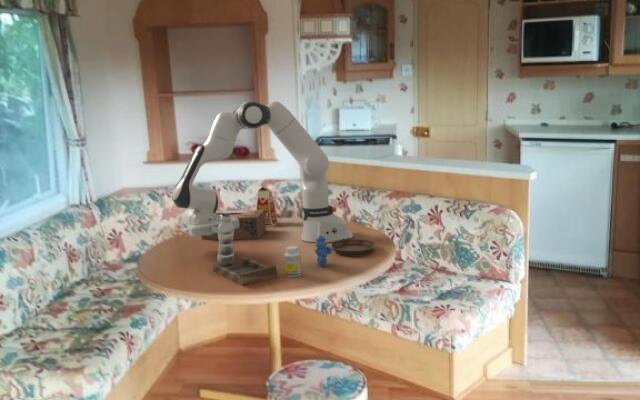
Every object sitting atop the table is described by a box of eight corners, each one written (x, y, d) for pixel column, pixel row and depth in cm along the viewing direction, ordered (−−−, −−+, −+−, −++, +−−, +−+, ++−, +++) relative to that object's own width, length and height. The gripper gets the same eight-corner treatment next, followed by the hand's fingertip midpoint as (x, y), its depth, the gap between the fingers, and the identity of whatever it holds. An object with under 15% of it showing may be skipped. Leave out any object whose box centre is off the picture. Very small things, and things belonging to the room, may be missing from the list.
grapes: (336, 270, 227) (334, 238, 224) (317, 271, 226) (315, 239, 223) (331, 260, 238) (329, 230, 235) (313, 262, 237) (312, 231, 235)
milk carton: (273, 227, 294) (270, 185, 289) (254, 227, 295) (251, 185, 291) (278, 222, 302) (275, 181, 298) (259, 222, 304) (257, 181, 300)
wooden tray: (213, 270, 232) (212, 260, 232) (245, 262, 240) (245, 252, 239) (242, 285, 214) (241, 274, 214) (276, 276, 222) (276, 266, 221)
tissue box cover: (265, 231, 288) (264, 209, 286) (258, 239, 274) (256, 217, 272) (211, 231, 292) (210, 210, 290) (201, 239, 278) (199, 217, 276)
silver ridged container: (237, 261, 241) (238, 213, 234) (229, 268, 235) (229, 220, 228) (222, 258, 243) (222, 210, 236) (213, 265, 237) (213, 216, 230)
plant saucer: (351, 243, 261) (351, 236, 261) (384, 250, 249) (384, 242, 249) (322, 253, 249) (321, 246, 248) (356, 261, 237) (355, 253, 236)
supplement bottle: (292, 271, 227) (291, 244, 225) (304, 274, 224) (303, 246, 222) (282, 275, 223) (280, 248, 221) (293, 278, 220) (292, 250, 218)
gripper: (181, 221, 241) (196, 227, 230) (228, 212, 253) (245, 217, 242) (182, 236, 243) (197, 243, 232) (229, 227, 254) (246, 233, 243)
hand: (222, 230), depth 237 cm, fingers closed
